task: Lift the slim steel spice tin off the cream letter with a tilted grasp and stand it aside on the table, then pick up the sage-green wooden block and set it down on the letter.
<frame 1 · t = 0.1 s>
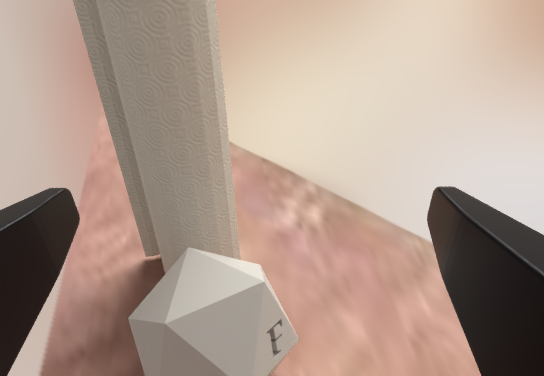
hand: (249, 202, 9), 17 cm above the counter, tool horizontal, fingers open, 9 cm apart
paper towel roll: (200, 264, 31), on the counter
die: (221, 370, 23), on the counter
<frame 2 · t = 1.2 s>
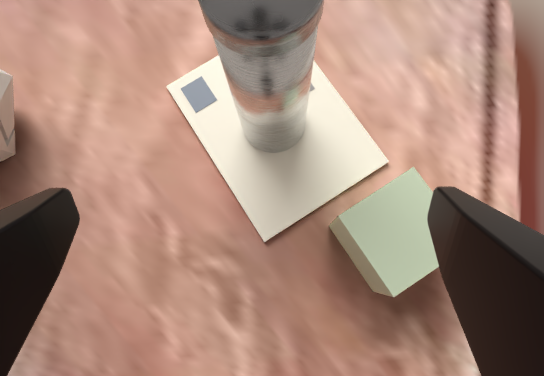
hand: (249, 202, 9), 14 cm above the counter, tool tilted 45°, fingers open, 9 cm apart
letter: (273, 123, 24), on the counter
block: (381, 237, 23), on the counter
tin: (273, 122, 24), resting on letter
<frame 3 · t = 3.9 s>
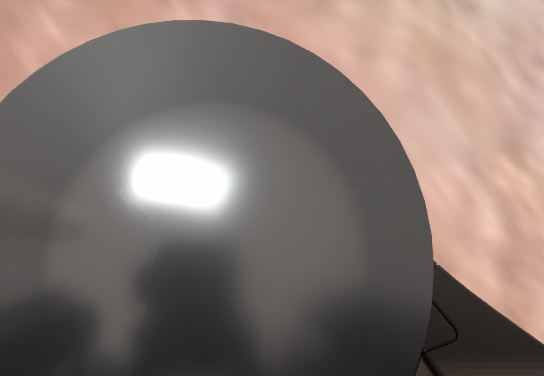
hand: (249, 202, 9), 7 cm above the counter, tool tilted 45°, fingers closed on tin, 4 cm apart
tin: (264, 263, 15), resting on letter, touching gripper
when the fingers open (7 cm above the counter, at t = 7.1 s): tin drops 1 cm, on the counter.
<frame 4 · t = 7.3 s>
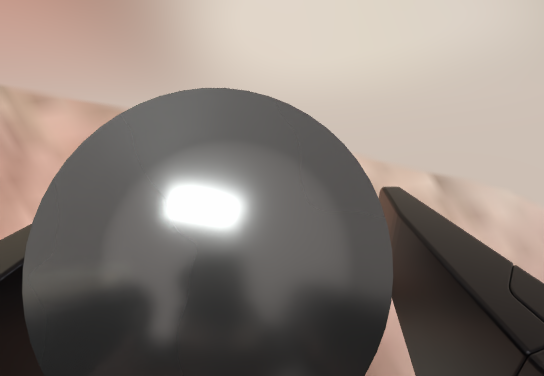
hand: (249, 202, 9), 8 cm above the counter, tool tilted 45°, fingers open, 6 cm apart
tin: (266, 265, 17), on the counter
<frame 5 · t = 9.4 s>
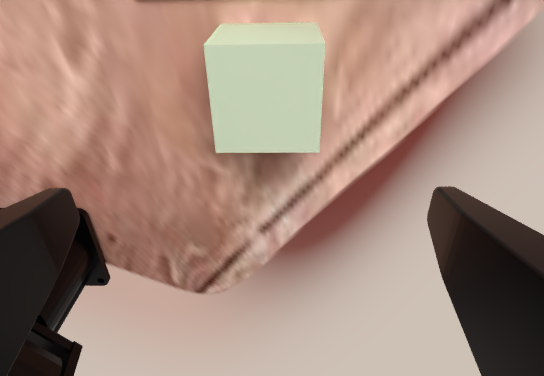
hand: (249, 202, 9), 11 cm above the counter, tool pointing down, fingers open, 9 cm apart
block: (269, 70, 19), on the counter
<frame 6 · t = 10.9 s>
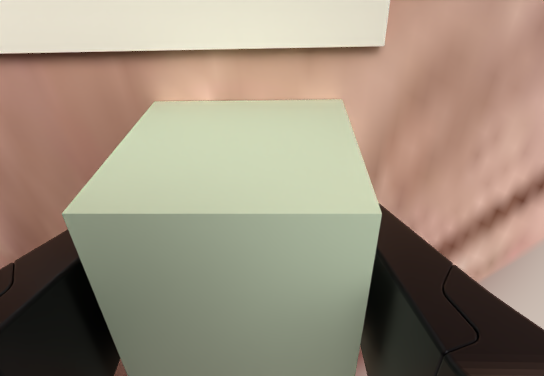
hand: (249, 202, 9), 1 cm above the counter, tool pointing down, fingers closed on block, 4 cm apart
block: (252, 180, 10), on the counter, touching gripper
when the fingers open (3 cm above the counter, at t = 14.7 s): block drops 2 cm, resting on letter.
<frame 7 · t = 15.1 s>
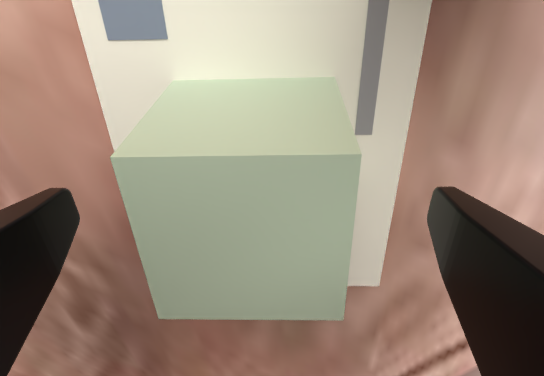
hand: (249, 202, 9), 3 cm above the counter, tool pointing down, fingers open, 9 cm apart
letter: (257, 146, 12), on the counter
block: (257, 150, 12), resting on letter
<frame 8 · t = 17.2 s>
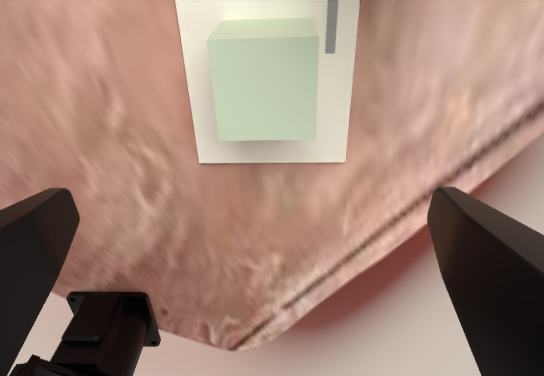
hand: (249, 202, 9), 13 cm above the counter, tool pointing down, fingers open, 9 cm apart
letter: (268, 62, 20), on the counter
block: (268, 64, 20), resting on letter
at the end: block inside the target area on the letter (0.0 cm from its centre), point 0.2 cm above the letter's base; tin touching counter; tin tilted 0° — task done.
